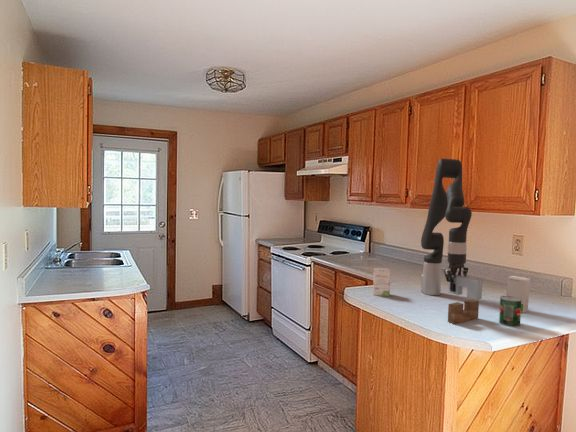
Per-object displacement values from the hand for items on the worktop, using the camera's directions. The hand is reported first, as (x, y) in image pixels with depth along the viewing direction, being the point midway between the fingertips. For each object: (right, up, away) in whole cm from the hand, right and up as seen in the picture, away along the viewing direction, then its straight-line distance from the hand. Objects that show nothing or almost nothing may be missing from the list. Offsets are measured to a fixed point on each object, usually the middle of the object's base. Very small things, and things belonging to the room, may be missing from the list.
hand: (455, 290), depth 177 cm
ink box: (-24, -9, +39) cm, 46 cm away
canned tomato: (+20, -13, -7) cm, 25 cm away
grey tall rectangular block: (+2, -1, -4) cm, 5 cm away
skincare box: (+34, -12, +13) cm, 39 cm away
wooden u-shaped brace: (+2, -12, -3) cm, 13 cm away
